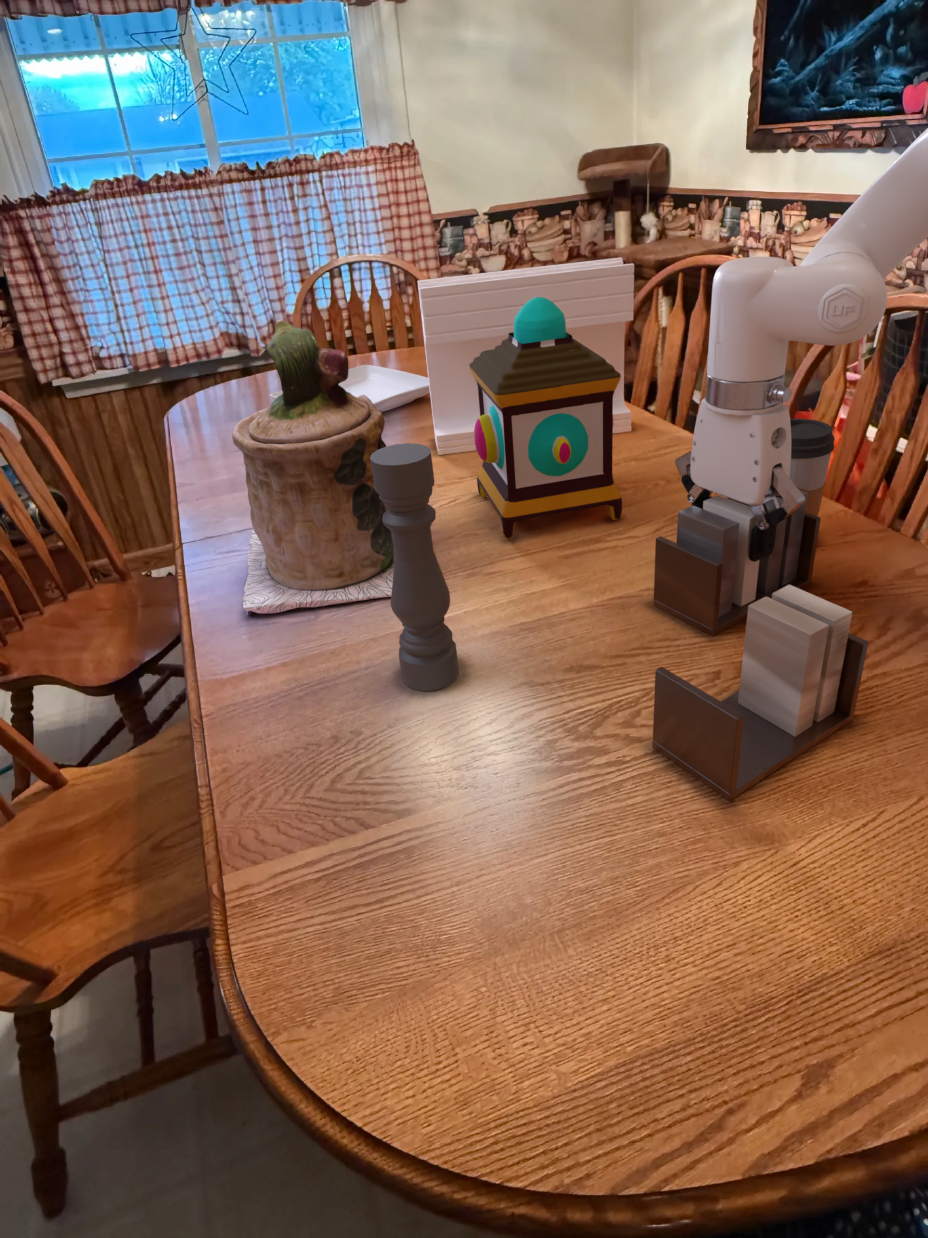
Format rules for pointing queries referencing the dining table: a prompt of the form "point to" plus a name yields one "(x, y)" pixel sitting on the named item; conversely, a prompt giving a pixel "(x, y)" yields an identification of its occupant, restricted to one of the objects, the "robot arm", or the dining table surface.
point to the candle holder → (415, 566)
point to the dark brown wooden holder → (727, 566)
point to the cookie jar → (313, 485)
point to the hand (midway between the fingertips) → (729, 543)
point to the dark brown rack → (765, 695)
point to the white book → (739, 546)
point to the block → (484, 315)
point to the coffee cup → (810, 459)
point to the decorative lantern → (544, 421)
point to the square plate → (382, 386)
